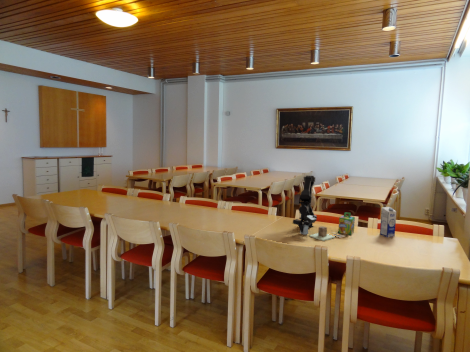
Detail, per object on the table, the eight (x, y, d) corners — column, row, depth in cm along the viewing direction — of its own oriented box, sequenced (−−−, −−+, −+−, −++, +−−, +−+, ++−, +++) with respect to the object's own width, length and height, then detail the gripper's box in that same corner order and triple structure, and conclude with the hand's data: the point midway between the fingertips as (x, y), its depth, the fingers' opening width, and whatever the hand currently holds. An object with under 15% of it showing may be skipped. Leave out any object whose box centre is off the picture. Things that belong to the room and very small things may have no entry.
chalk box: (338, 233, 237) (338, 213, 235) (341, 230, 245) (342, 210, 243) (351, 235, 232) (352, 214, 230) (354, 232, 240) (355, 212, 238)
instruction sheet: (327, 234, 234) (327, 234, 234) (333, 232, 238) (334, 232, 238) (339, 237, 226) (339, 237, 226) (345, 236, 230) (345, 235, 230)
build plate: (309, 236, 229) (309, 235, 229) (321, 233, 236) (321, 232, 236) (323, 241, 219) (323, 239, 219) (334, 237, 226) (335, 236, 226)
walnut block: (318, 235, 228) (318, 227, 227) (321, 234, 230) (322, 226, 229) (322, 237, 225) (323, 228, 224) (326, 236, 227) (326, 227, 226)
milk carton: (387, 233, 237) (389, 206, 234) (394, 236, 231) (396, 208, 228) (379, 234, 234) (381, 207, 232) (387, 237, 228) (389, 209, 225)
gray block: (300, 233, 236) (300, 225, 235) (303, 232, 238) (304, 224, 238) (304, 234, 233) (304, 226, 232) (308, 233, 235) (308, 225, 234)
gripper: (304, 215, 222) (303, 237, 224) (322, 211, 233) (321, 232, 235) (292, 211, 231) (291, 233, 233) (310, 208, 241) (309, 229, 243)
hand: (304, 232), depth 236 cm, fingers closed on gray block, 4 cm apart
